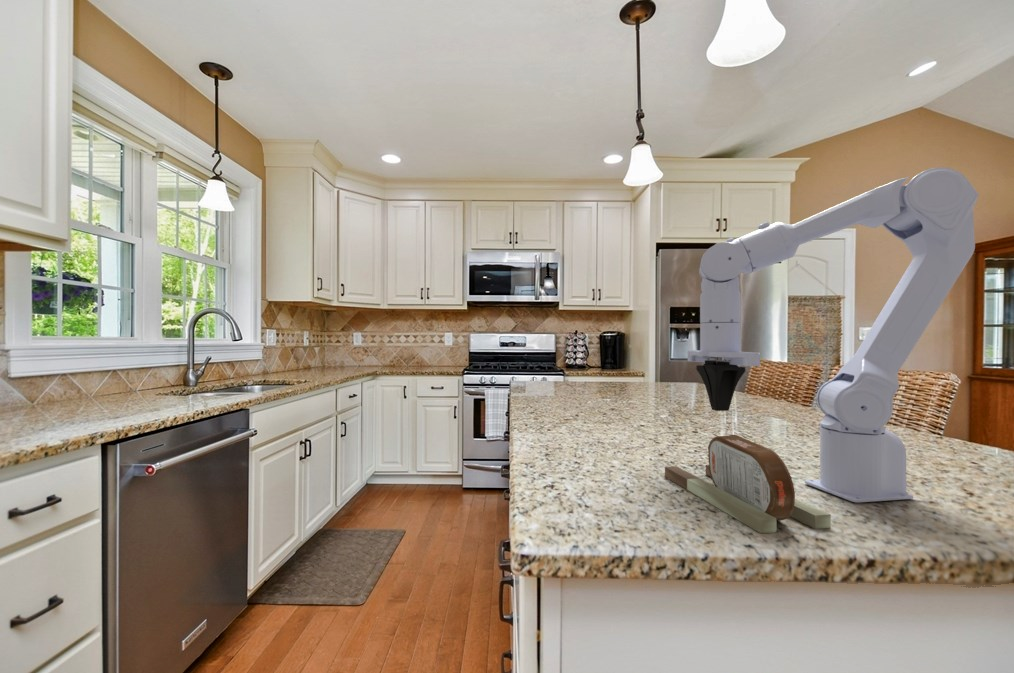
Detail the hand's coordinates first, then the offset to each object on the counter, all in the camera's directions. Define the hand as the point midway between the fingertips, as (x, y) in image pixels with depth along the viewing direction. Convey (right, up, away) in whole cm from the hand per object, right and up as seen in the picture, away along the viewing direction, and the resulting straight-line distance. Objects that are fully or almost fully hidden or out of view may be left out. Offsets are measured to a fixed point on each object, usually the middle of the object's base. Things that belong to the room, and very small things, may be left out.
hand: (720, 410), depth 67 cm
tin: (-3, -11, -12) cm, 16 cm away
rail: (-3, -10, -9) cm, 14 cm away
